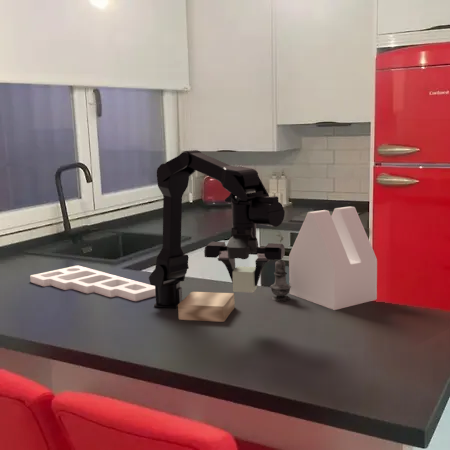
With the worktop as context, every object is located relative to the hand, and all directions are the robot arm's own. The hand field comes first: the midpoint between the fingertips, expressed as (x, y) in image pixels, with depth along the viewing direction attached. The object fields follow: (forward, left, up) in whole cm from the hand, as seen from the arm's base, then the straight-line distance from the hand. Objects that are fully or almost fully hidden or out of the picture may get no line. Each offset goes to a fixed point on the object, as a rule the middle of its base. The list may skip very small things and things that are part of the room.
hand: (245, 285), depth 152 cm
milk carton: (+19, +29, -11) cm, 36 cm away
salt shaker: (+5, +25, -11) cm, 28 cm away
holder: (-55, +28, -11) cm, 63 cm away
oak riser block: (-12, +9, -11) cm, 19 cm away
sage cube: (0, 0, -1) cm, 1 cm away
